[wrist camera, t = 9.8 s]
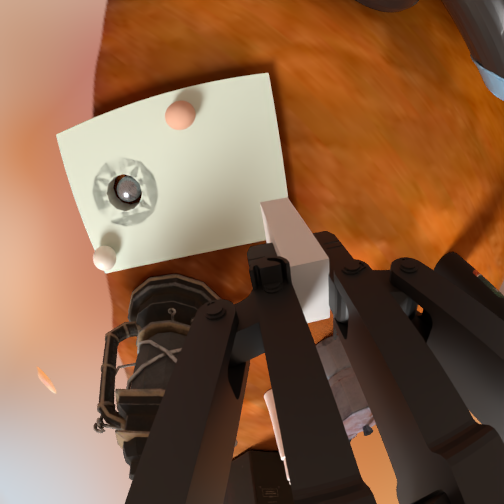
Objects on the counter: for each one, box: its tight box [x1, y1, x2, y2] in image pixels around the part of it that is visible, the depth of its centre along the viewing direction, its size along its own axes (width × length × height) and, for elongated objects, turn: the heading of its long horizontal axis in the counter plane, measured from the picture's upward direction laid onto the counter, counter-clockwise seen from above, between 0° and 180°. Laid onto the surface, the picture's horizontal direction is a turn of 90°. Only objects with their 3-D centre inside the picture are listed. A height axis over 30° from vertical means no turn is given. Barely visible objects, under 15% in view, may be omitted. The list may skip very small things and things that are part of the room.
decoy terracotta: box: [165, 101, 196, 130], centre depth 26 cm, size 3×3×3 cm
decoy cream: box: [93, 245, 117, 271], centre depth 33 cm, size 3×3×3 cm
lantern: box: [94, 274, 237, 480], centre depth 30 cm, size 20×16×30 cm
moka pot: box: [316, 335, 376, 442], centre depth 43 cm, size 10×15×20 cm, turn 176°
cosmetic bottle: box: [264, 389, 291, 485], centre depth 47 cm, size 6×6×22 cm
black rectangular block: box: [223, 450, 294, 504], centre depth 71 cm, size 38×20×25 cm, turn 150°
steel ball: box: [117, 176, 142, 202], centre depth 32 cm, size 3×3×3 cm
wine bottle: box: [434, 252, 504, 321], centre depth 33 cm, size 8×8×30 cm
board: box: [56, 73, 288, 273], centre depth 32 cm, size 20×26×2 cm
